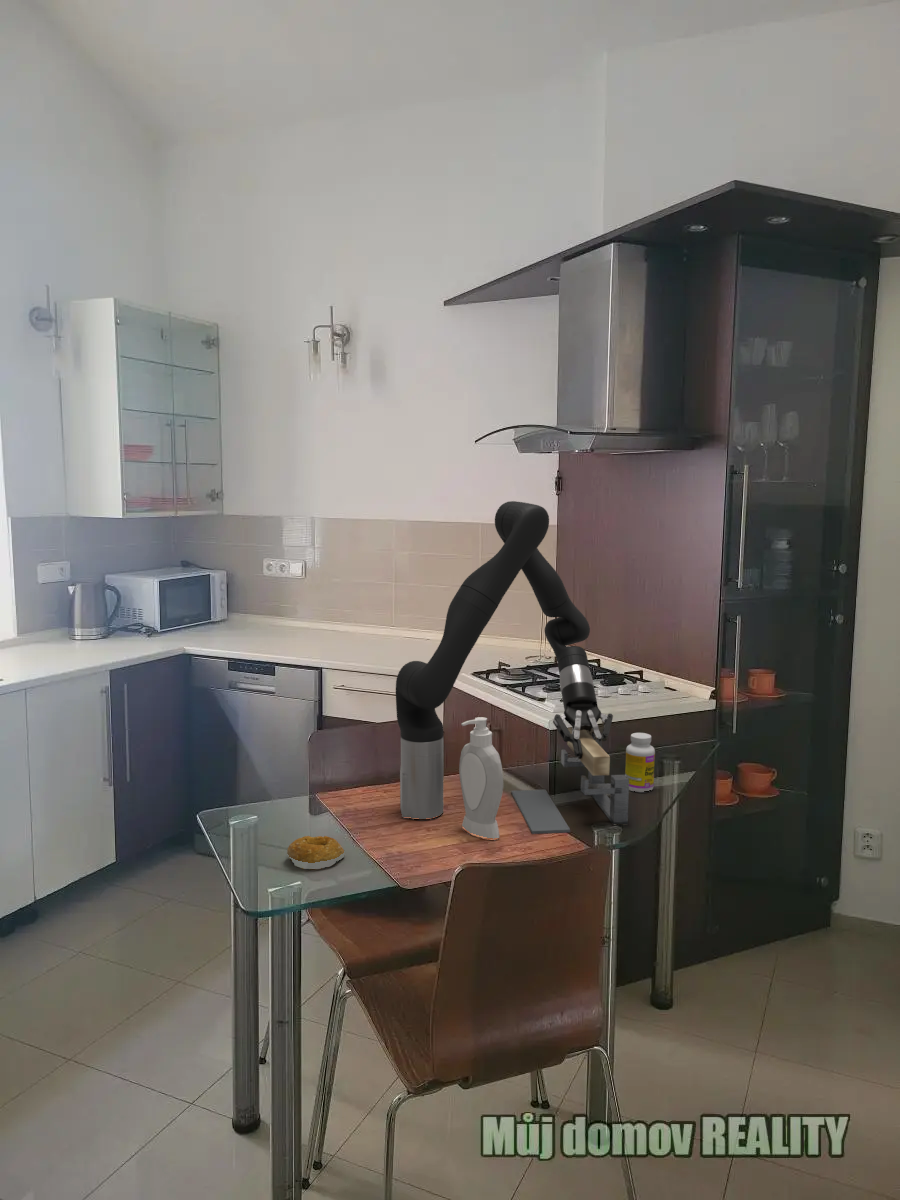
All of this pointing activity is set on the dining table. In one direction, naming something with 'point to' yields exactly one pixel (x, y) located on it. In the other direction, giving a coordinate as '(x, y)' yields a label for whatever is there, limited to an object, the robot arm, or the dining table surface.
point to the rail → (592, 754)
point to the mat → (540, 812)
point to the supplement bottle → (640, 763)
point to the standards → (604, 791)
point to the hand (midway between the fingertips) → (589, 756)
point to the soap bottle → (481, 781)
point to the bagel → (314, 849)
